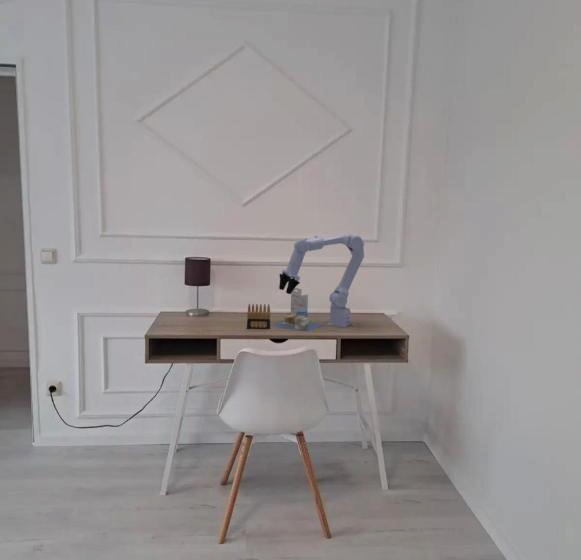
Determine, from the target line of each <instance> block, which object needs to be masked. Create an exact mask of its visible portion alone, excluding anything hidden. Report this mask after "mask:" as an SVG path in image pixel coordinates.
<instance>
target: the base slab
mask: <svg viewBox="0 0 581 560" xmlns="http://www.w3.org/2000/svg"><path fill="white" fill-rule="evenodd" d="M298 317H305V318H308V315H307V316H301V315H294V314H289V315H287V316H284V320H285V321H284V320H283V321H284V323H287V324H294V325H295V318H298Z"/></svg>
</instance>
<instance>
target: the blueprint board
mask: <svg viewBox="0 0 581 560" xmlns="http://www.w3.org/2000/svg"><path fill="white" fill-rule="evenodd" d="M284 321H285V319H283V320H282V321H278V322H276V323H275V324H270V327H274V328H280V329H287V330H294V331H298V330H297V329H295V325H294V324H287V323H284ZM322 326H325V324H324V323H319V322H312V321H308V329H306V330H299V331H301V332H311V331H313V330H315V329H317V328H319V327H322Z"/></svg>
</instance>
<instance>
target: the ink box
mask: <svg viewBox="0 0 581 560" xmlns="http://www.w3.org/2000/svg"><path fill="white" fill-rule="evenodd" d="M308 301H309V294H307V293H302V289H301V288H299V287H298V288H297V287H295V288H294V290H293V291H292V293H291V294H290V315H292V314H294V315H301V316H307V317H308V308H309V307H308V305H309V303H308Z"/></svg>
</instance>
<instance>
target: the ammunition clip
mask: <svg viewBox="0 0 581 560" xmlns="http://www.w3.org/2000/svg"><path fill="white" fill-rule="evenodd" d="M247 305H248V306H247V315H246V330H247V329H248V330H271V306H270V303H268V305H267V307H266V303H264V304H263V305H262V303H260V305H258V303H256V305H255V304H254V303H252V305H251V304H250V303H248V304H247Z"/></svg>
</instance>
